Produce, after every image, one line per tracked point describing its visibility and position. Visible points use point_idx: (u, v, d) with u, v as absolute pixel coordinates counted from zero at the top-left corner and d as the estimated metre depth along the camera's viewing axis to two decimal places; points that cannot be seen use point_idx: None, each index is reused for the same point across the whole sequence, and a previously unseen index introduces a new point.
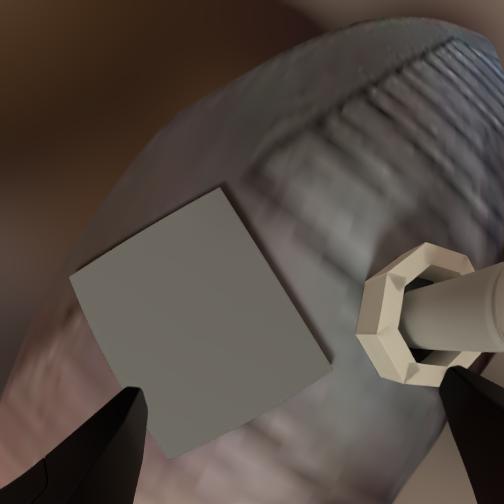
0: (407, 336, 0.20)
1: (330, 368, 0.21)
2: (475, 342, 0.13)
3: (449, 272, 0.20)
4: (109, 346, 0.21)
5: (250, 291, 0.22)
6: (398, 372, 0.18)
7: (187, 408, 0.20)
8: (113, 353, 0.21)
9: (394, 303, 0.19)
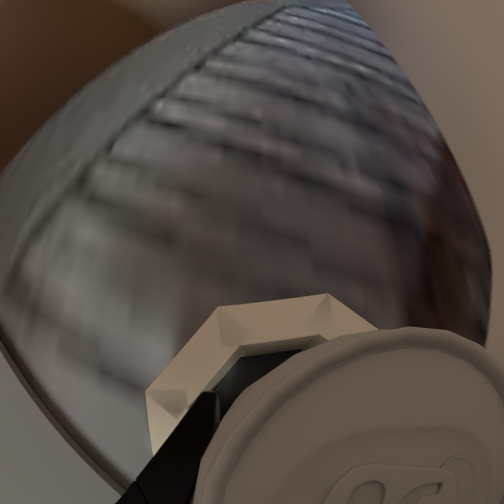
0: None
1: None
2: None
3: (298, 339, 0.12)
4: None
5: (25, 436, 0.11)
6: None
7: None
8: None
9: None
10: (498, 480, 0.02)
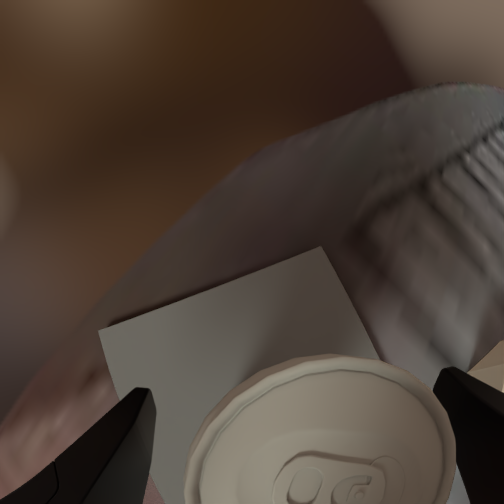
0: None
1: None
2: None
3: None
4: None
5: None
6: None
7: None
8: None
9: None
10: (428, 481, 0.04)
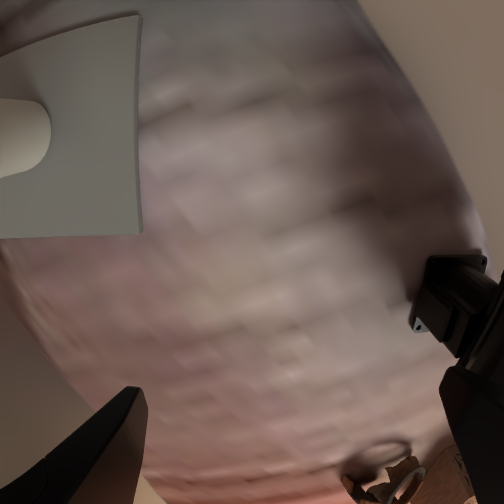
0: (23, 166, 0.15)
1: (135, 16, 0.14)
2: None
3: None
4: (21, 227, 0.18)
5: (31, 69, 0.14)
6: None
7: (91, 178, 0.17)
8: (26, 226, 0.18)
9: None
10: None
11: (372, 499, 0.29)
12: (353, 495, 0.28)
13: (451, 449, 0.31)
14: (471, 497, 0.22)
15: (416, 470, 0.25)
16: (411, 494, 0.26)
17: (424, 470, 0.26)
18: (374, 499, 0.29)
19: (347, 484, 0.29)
